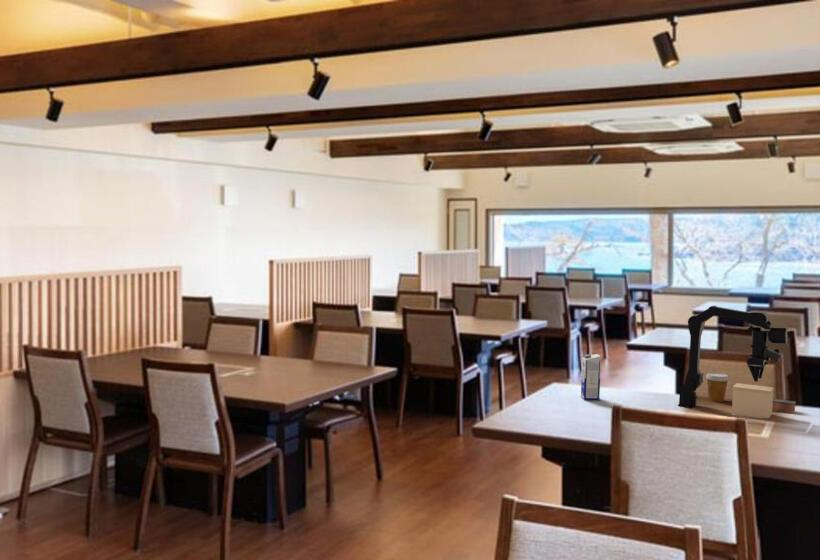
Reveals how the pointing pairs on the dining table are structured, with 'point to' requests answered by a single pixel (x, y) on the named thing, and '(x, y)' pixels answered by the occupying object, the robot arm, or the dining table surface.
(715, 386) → the disposable coffee cup
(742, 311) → the robot arm
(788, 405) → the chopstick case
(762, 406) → the kraft carton
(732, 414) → the board
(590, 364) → the milk carton
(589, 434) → the dining table surface
